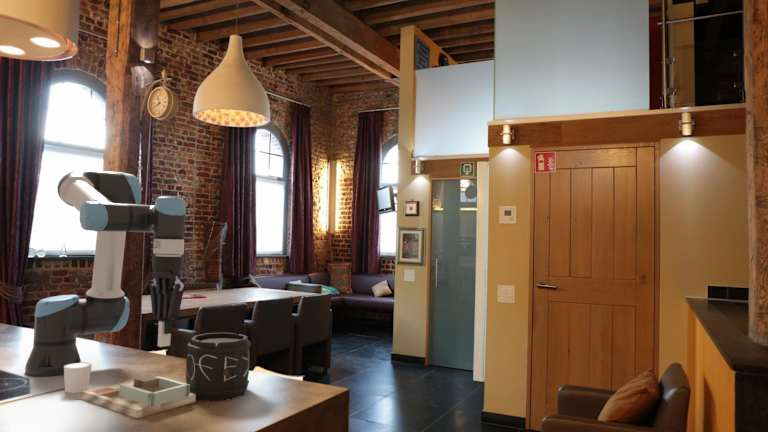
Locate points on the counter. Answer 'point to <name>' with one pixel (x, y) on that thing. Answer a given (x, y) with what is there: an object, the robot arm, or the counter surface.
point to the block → (147, 383)
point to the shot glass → (77, 377)
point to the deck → (129, 401)
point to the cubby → (167, 392)
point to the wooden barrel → (218, 365)
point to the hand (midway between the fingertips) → (163, 345)
